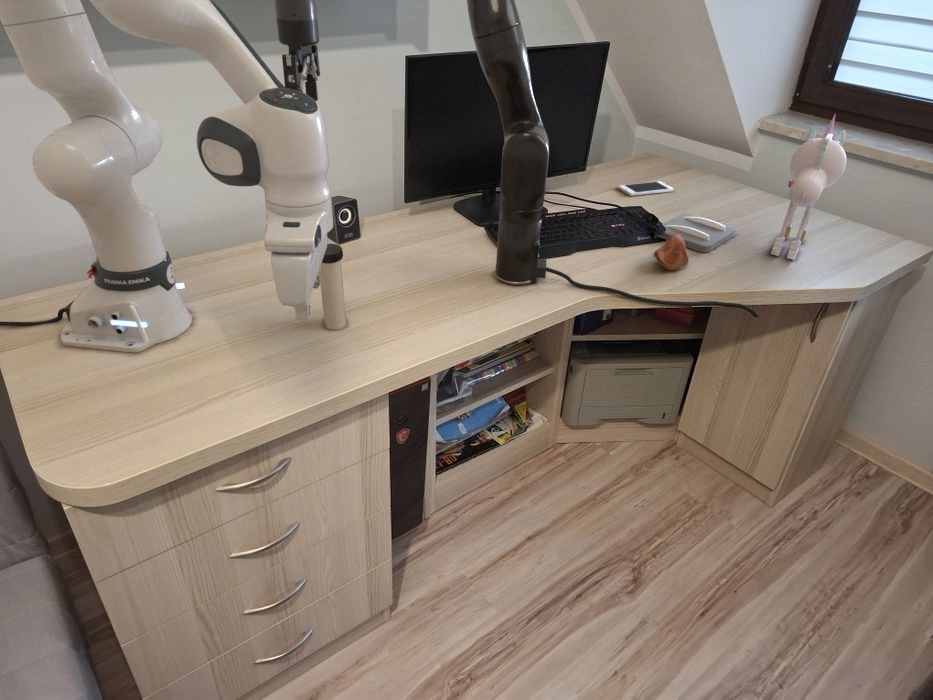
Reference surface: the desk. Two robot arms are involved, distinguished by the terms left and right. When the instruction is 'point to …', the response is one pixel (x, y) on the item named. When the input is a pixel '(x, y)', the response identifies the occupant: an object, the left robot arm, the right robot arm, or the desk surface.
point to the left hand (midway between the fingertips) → (309, 301)
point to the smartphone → (645, 188)
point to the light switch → (698, 231)
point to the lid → (332, 253)
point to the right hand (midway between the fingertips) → (306, 105)
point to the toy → (811, 180)
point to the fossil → (672, 253)
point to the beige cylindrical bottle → (332, 295)
